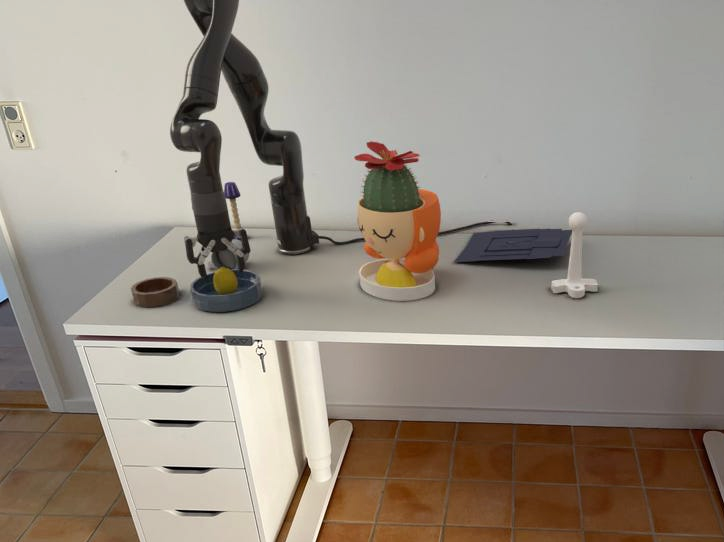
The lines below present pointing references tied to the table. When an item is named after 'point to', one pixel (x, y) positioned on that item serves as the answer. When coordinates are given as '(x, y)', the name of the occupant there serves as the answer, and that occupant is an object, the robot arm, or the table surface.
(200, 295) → the bowl
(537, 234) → the dark blue flat board
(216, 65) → the robot arm
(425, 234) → the potted cactus
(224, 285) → the lemon
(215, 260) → the ceramic mug
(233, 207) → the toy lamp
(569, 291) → the joystick
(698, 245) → the table surface
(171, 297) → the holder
